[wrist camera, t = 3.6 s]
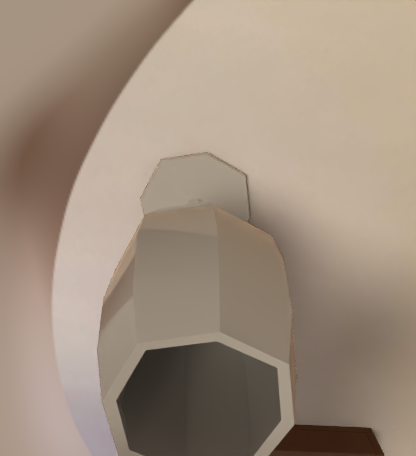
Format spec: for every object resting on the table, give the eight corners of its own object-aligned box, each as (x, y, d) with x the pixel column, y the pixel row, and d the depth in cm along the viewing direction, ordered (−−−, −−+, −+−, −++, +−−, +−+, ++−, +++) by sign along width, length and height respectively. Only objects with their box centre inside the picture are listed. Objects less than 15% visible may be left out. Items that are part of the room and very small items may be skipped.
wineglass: (237, 262, 33) (301, 524, 14) (134, 246, 33) (44, 500, 13) (261, 161, 30) (387, 309, 11) (148, 140, 30) (60, 259, 10)
